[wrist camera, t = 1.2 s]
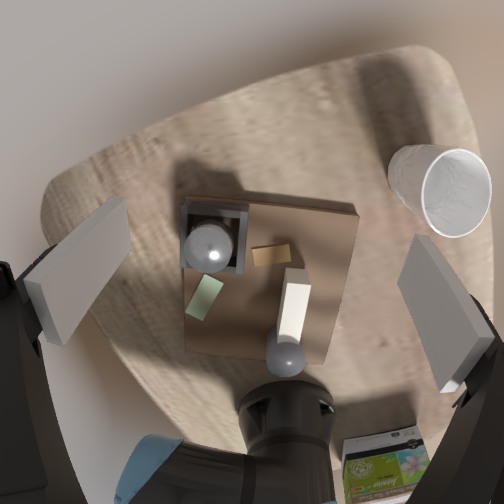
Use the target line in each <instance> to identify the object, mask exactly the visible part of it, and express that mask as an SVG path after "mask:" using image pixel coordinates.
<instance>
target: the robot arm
mask: <svg viewBox="0 0 504 504" xmlns="http://www.w3.org/2000/svg"><path fill="white" fill-rule="evenodd" d="M130 251H131V243H130V233H129V223H128V212H127V199H126V198H125V197H111V198H110V199H108V200H107V201H106V202H105V203H104V204H102V205H101V206H100V207H99V208H98V209H97V210H95V211H94V212H93V213H92V214H91V215H90V216H88V217H87V218H86V219H85V220H84V221H83V222H82V223H81V224H80V225H78V226H77V227H76V228H75V229H74V230H73V231H72V232H71V233H70V234H69V235H67V236H66V237H65V238H64V239H63V240H62V241H61V242H60V243H59V244H56V245H54V246H52V247H50V248H49V249H47V250H45V251H44V252H43V253H42V254H41V255H40V256H39V259H38V258H37V259H36V260H35V261H34V262H33V265H30V266H29V267H28V268H27V269H26V270H25V271H24V272H23V273H22V274H21V275H20V277H18V278H17V279H16V280H14V278H13V274H12V271H11V268H10V265H9V264H8V263H7V262H3V261H0V504H88V503H87V500H86V498H85V496H84V494H83V491H82V489H81V487H80V484H79V482H78V479H77V477H76V475H75V471H74V469H73V467H72V463H71V461H70V458H69V455H68V452H67V449H66V446H65V443H64V440H63V437H62V434H61V430H60V427H59V424H58V420H57V417H56V413H55V409H54V406H53V402H52V398H51V394H50V389H49V385H48V380H47V376H46V371H45V366H44V361H43V355H42V349H41V344H40V341H39V339H38V335H39V334H40V333H41V331H42V330H43V332H44V335H45V337H46V339H47V341H48V342H50V343H53V344H56V345H59V346H62V347H64V346H65V345H66V343H67V341H68V340H69V338H70V337H71V335H72V334H73V332H74V330H75V329H76V327H77V326H78V324H79V323H80V321H81V320H82V318H83V317H84V315H85V314H86V312H87V311H88V309H89V308H90V307H91V305H92V304H93V302H94V301H95V299H96V298H97V296H98V295H99V294H100V292H101V291H102V289H103V288H104V286H105V285H106V284H107V282H108V281H109V279H110V278H111V277H112V275H113V274H114V273H115V271H116V270H117V268H118V267H119V266H120V264H121V263H122V262H123V260H124V259H125V258H126V256H127V255H128V254H129V252H130ZM397 284H398V286H399V288H400V290H401V293H402V295H403V297H404V300H405V302H406V304H407V307H408V309H409V311H410V314H411V316H412V319H413V321H414V324H415V326H416V329H417V331H418V334H419V336H420V339H421V342H422V344H423V347H424V350H425V352H426V355H427V358H428V360H429V363H430V366H431V369H432V372H433V375H434V378H435V381H436V384H437V387H438V390H439V393H443V392H456V390H457V389H458V388H459V387H460V385H461V384H462V383H463V382H464V381H465V384H466V386H467V389H466V390H465V391H464V393H463V394H462V395H461V396H460V397H459V398H458V400H457V401H456V402H455V403H454V404H453V406H452V408H454V407H455V406H456V405H458V406H457V408H456V410H455V413H454V415H453V417H452V419H451V422H450V424H449V426H448V428H447V430H446V433H445V435H444V437H443V439H442V441H441V443H440V445H439V446H438V448H437V450H436V452H435V454H434V456H433V458H432V460H431V462H430V463H429V465H428V467H427V469H426V471H425V472H424V474H423V476H422V477H421V479H420V481H419V482H418V484H417V486H416V487H415V489H414V491H413V492H412V494H411V495H410V497H409V498H408V500H407V501H406V503H405V504H489V503H490V501H491V503H490V504H504V342H502V340H501V338H500V336H499V334H498V333H497V331H496V329H495V328H494V326H493V324H492V322H491V321H490V320H489V317H488V316H487V314H486V313H485V311H484V309H483V308H482V306H481V304H480V303H479V302H478V301H477V300H476V299H475V298H474V297H473V296H472V295H471V294H469V293H468V291H467V290H466V288H465V287H464V285H463V284H462V282H461V281H460V279H459V278H458V276H457V275H456V273H455V272H454V270H453V269H452V267H451V266H450V264H449V263H448V262H447V260H446V259H445V257H444V256H443V255H442V253H441V252H440V250H439V249H438V248H437V246H436V245H435V244H434V242H433V241H432V240H431V238H430V237H429V236H426V235H420V234H415V236H414V238H413V241H412V244H411V247H410V250H409V253H408V256H407V258H406V261H405V264H404V267H403V269H402V272H401V274H400V277H399V280H398V282H397ZM335 419H336V412H335V406H334V401H333V399H332V397H331V396H330V394H329V393H328V392H326V391H325V390H324V389H322V388H320V387H318V386H316V385H314V384H310V383H306V382H300V381H282V382H275V383H271V384H267V385H264V386H262V387H259V388H257V389H255V390H254V391H252V392H251V393H249V394H248V395H247V396H246V397H245V398H244V399H243V401H242V403H241V405H240V409H239V426H240V429H241V432H242V435H243V438H244V441H245V444H246V447H247V451H248V452H247V455H246V454H241V453H236V452H231V451H226V450H221V449H216V448H212V447H208V446H203V445H199V444H195V443H191V442H187V441H184V439H175V438H171V437H167V436H163V435H159V434H149V435H147V436H145V437H144V438H142V440H140V442H139V443H138V444H137V446H136V447H135V449H134V451H133V452H132V454H131V456H130V458H129V460H128V462H127V464H126V466H125V468H124V470H123V473H122V475H121V477H120V480H119V482H118V486H117V489H116V494H115V497H114V503H115V504H337V502H336V498H335V490H334V482H333V474H332V467H331V459H330V452H329V443H330V440H331V436H332V432H333V428H334V424H335Z"/></svg>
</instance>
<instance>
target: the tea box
mask: <svg viewBox="0 0 504 504" xmlns="http://www.w3.org/2000/svg"><path fill="white" fill-rule="evenodd" d="M429 463H430V460H429V457H428V454H427V451H426V448H425V445H424V442H423V439H422V436H421V434H420V431H419V429H418V426H417V425H415V426H413V427H409V428H405V429H401V430H397V431H391V432H387V433H383V434H376V435H371V436H365V437H359V438H351V439H345V440H344V443H343V453H342V462H341V467H342V476H343V485H344V493H345V502H346V504H405V503H406V501H407V500H408V498H409V497H410V495H411V494H412V492H413V491H414V489H415V487H416V486H417V484H418V482H419V481H420V479H421V477H422V476H423V474H424V472H425V471H426V469H427V467H428V465H429Z"/></svg>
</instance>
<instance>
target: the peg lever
mask: <svg viewBox="0 0 504 504" xmlns="http://www.w3.org/2000/svg"><path fill="white" fill-rule="evenodd" d="M310 289H311V282H310V278H309V274H308V270H306V269H296V268H286V269H285V276H284V282H283V289H282V295H281V302H280V308H279V314H278V321H277V325H276V326H274V327H272V328H271V329H270V330H269V332H268V334H267V342H266V367H267V369H268V371H269V372H270V373H272V374H273V375H275V376H278V377H292V376H295V375H297V374H299V373H300V372H301V371H302V370H303V369H304V367H305V364H306V361H305V353H304V345H303V337H302V333H301V332H302V328H303V323H304V318H305V313H306V309H307V304H308V299H309V294H310Z"/></svg>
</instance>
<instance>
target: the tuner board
mask: <svg viewBox="0 0 504 504" xmlns="http://www.w3.org/2000/svg"><path fill="white" fill-rule="evenodd" d="M359 218H360V216H359V215H358V214H357V213H350V212H342V211H335V210H327V209H319V208H311V207H302V206H294V205H285V204H276V203H266V202H257V201H246V200H236V199H225V198H214V197H202V196H189V195H188V196H187V197H186V198H185V202H184V203H183V204H182V205H181V210H180V267H181V268H184V320H185V351H187V352H194V353H201V354H208V355H216V356H224V357H233V358H242V359H252V360H262V361H266V342H267V334H268V332H269V330H270V329H271V328H272V327H274V326H276V325H277V321H278V314H279V308H280V302H281V295H282V289H283V282H284V276H285V269H286V268H296V269H306V270H308V274H309V278H310V282H311V289H310V294H309V299H308V304H307V309H306V313H305V318H304V323H303V328H302V332H301V333H302V337H303V345H304V353H305V361H306V364H321V365H323V364H324V361H325V358H326V354H327V351H328V347H329V344H330V340H331V337H332V333H333V330H334V326H335V322H336V319H337V315H338V311H339V307H340V303H341V299H342V295H343V291H344V287H345V283H346V279H347V274H348V270H349V266H350V261H351V257H352V252H353V247H354V243H355V238H356V233H357V228H358V223H359ZM207 219H215V220H219V221H222V222H223V223H225V224H226V225H227V226H228V227H229V228H230V229H231V231H232V233H233V235H234V247H233V250H232V254H231V257H230V260H229V263H228V264H227V265H226V267H225V268H223V269H222V270H221V271H218V272H216V273H202V272H199V271H197V270H196V269H194V268H193V267H192V266H191V265H190V264H189V263H188V262H187V260H186V258H185V255H184V244H185V241H186V239H187V238H188V236H189V235H190V233H191V232H192V230H193V229H194V228H195V226H196V225H197V224H198V223H200V222H202V221H204V220H207Z"/></svg>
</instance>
